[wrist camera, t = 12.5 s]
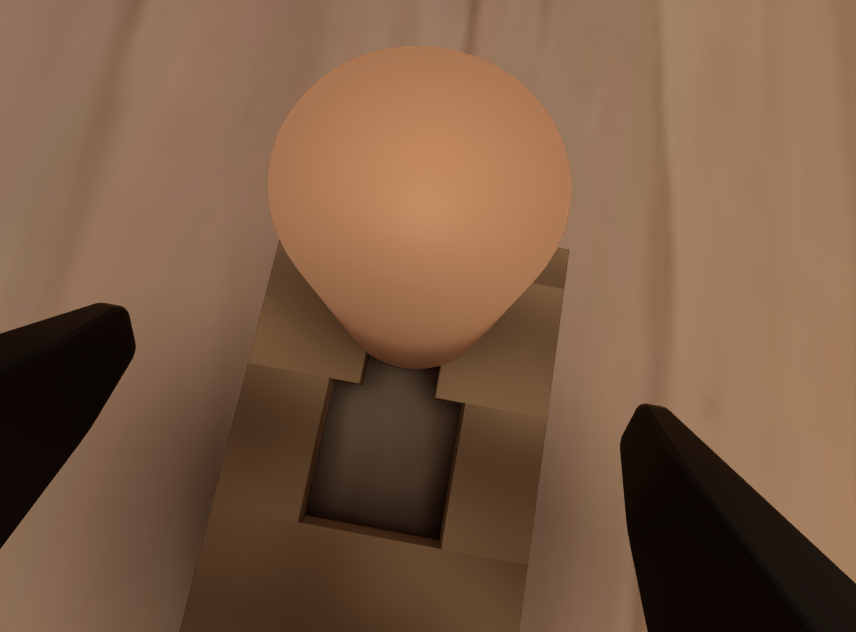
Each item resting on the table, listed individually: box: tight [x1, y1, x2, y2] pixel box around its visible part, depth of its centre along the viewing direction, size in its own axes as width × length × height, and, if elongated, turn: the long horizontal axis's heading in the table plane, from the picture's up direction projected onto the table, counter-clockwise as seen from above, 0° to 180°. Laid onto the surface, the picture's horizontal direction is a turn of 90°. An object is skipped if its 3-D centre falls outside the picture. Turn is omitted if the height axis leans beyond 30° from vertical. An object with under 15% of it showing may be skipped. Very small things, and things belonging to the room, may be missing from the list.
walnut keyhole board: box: [180, 240, 569, 632], centre depth 19 cm, size 20×11×4 cm, turn 170°
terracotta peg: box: [268, 46, 571, 369], centre depth 15 cm, size 6×6×12 cm
